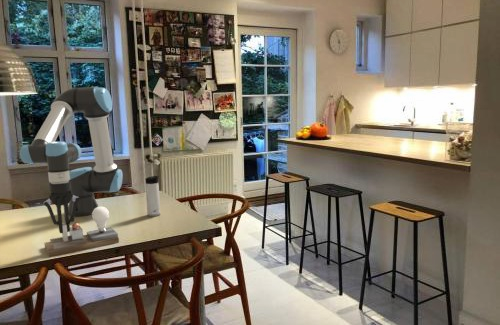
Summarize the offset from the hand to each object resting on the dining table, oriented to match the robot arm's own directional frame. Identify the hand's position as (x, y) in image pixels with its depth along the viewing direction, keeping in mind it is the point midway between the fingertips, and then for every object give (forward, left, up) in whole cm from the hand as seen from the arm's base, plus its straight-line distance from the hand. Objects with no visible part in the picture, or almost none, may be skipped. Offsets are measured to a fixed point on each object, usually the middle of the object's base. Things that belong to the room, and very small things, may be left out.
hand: (65, 240), depth 162 cm
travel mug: (-23, +45, -4) cm, 51 cm away
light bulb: (0, +14, 0) cm, 14 cm away
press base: (0, +6, -3) cm, 7 cm away
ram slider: (0, +4, -1) cm, 4 cm away
